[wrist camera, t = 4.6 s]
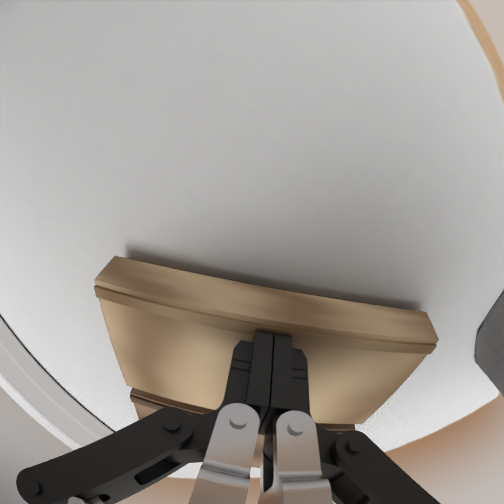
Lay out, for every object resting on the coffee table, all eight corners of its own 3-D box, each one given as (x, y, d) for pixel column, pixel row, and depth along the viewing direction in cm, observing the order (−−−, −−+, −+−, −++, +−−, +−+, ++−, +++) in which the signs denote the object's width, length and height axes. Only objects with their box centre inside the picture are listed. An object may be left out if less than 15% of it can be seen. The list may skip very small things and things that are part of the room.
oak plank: (137, 363, 17) (126, 387, 15) (115, 255, 12) (92, 281, 11) (359, 400, 17) (362, 425, 15) (426, 312, 12) (439, 341, 10)
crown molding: (128, 435, 27) (119, 457, 23) (84, 430, 30) (75, 447, 27) (-42, 230, 16) (-64, 246, 12) (-51, 270, 19) (-66, 283, 16)
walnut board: (139, 372, 18) (129, 394, 16) (352, 408, 18) (355, 431, 16) (154, 428, 22) (148, 445, 20) (310, 454, 22) (311, 472, 20)
